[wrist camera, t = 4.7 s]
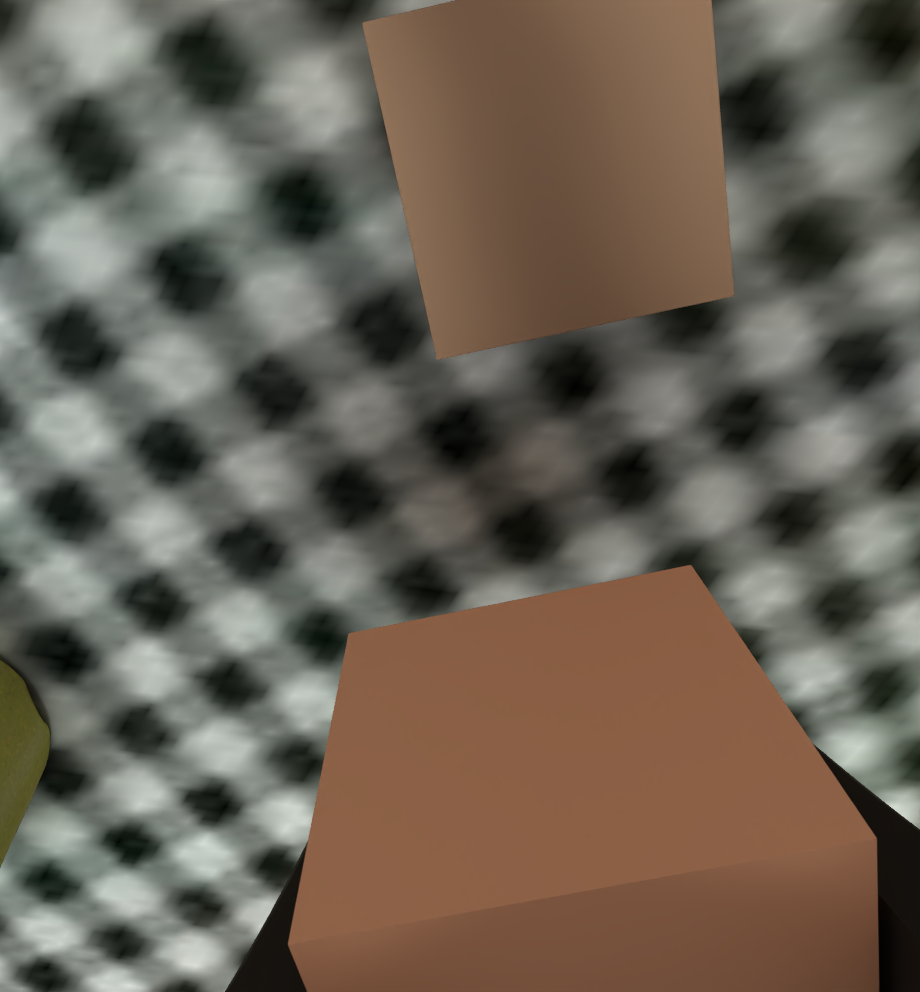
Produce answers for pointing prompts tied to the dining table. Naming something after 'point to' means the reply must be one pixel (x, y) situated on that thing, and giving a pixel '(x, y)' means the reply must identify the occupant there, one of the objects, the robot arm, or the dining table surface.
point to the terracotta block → (579, 810)
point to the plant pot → (18, 753)
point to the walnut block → (555, 162)
